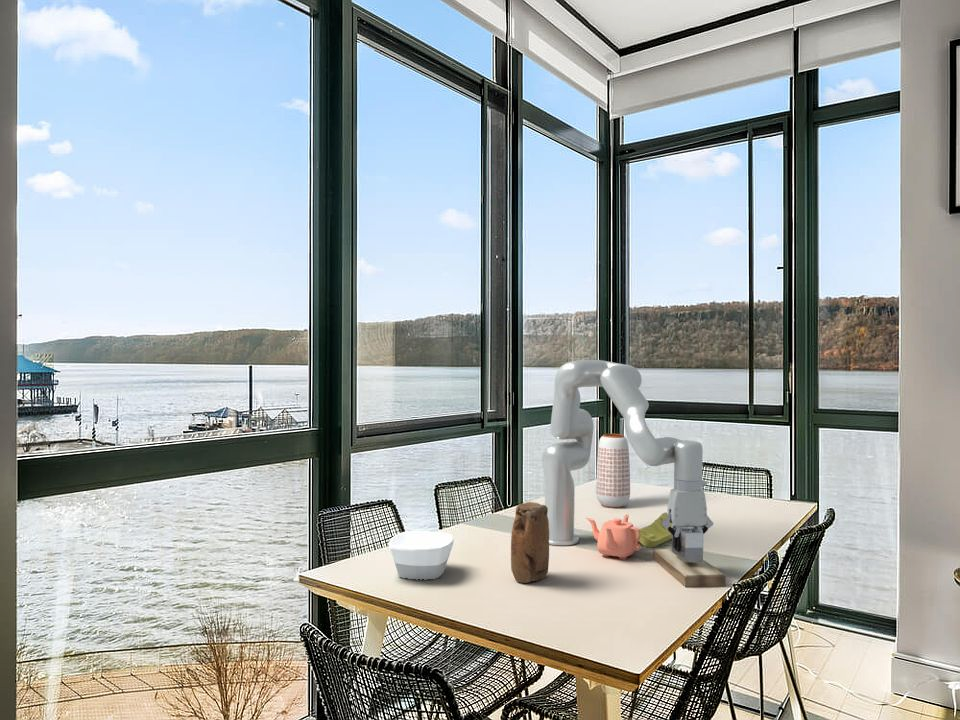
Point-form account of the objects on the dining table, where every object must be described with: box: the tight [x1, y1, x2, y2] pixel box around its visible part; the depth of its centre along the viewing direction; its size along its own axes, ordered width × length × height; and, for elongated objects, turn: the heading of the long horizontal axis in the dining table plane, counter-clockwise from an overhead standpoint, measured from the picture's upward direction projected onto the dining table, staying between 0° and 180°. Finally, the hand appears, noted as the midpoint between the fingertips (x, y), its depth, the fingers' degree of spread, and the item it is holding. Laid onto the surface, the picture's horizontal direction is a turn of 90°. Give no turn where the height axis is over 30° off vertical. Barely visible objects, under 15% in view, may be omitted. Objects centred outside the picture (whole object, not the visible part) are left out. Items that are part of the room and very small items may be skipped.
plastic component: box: [635, 512, 672, 548], centre depth 228 cm, size 20×7×10 cm
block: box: [510, 501, 550, 584], centre depth 188 cm, size 11×8×20 cm
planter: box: [595, 433, 631, 509], centre depth 276 cm, size 13×13×28 cm
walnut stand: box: [652, 548, 727, 588], centre depth 195 cm, size 11×24×3 cm, turn 6°
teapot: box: [585, 514, 642, 561], centre depth 210 cm, size 14×14×11 cm
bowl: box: [388, 531, 455, 581], centre depth 192 cm, size 18×18×9 cm
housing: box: [671, 524, 704, 562], centre depth 195 cm, size 5×10×8 cm, turn 6°
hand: (686, 549), depth 195 cm, fingers closed on housing, 5 cm apart
